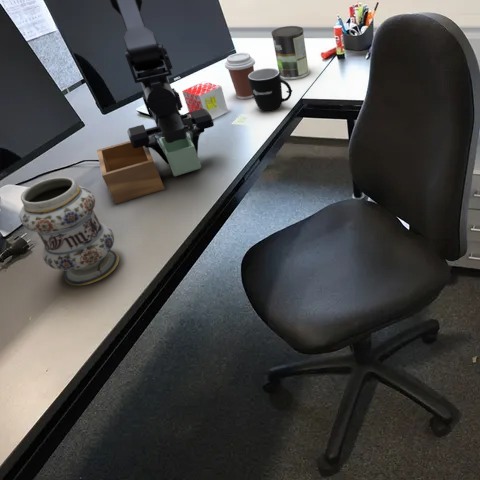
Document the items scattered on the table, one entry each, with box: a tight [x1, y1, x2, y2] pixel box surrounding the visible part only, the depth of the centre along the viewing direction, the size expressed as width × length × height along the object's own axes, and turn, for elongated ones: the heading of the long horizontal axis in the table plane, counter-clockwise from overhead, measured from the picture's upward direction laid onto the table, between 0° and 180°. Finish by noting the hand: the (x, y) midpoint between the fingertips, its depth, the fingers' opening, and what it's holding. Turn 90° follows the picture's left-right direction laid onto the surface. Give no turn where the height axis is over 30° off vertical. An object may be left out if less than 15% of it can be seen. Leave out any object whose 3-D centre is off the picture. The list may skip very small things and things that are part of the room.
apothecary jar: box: [19, 176, 120, 286], centre depth 87 cm, size 12×12×18 cm
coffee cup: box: [224, 52, 256, 100], centre depth 150 cm, size 9×9×12 cm
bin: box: [158, 132, 202, 177], centre depth 118 cm, size 10×7×6 cm
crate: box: [96, 140, 165, 205], centre depth 114 cm, size 14×11×8 cm
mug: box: [248, 67, 292, 113], centre depth 141 cm, size 12×9×10 cm
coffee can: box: [270, 25, 310, 80], centre depth 160 cm, size 10×10×14 cm
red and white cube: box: [182, 81, 229, 121], centre depth 142 cm, size 8×8×8 cm
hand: (182, 159), depth 119 cm, fingers closed on bin, 7 cm apart
